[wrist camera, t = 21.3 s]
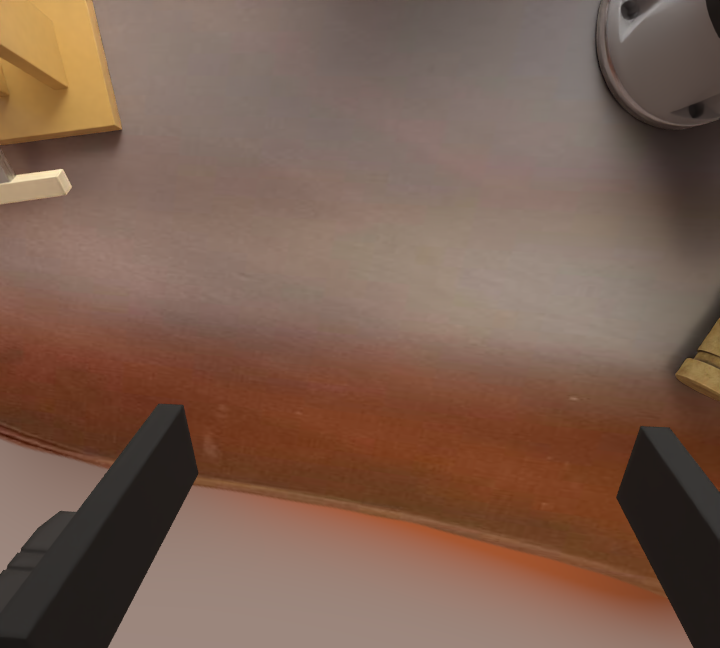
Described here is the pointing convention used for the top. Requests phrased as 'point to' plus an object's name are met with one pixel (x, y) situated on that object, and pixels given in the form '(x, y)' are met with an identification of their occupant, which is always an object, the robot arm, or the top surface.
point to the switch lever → (30, 184)
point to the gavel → (704, 366)
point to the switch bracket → (53, 72)
